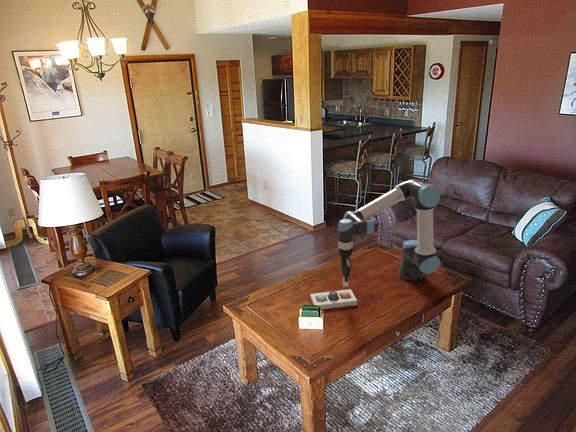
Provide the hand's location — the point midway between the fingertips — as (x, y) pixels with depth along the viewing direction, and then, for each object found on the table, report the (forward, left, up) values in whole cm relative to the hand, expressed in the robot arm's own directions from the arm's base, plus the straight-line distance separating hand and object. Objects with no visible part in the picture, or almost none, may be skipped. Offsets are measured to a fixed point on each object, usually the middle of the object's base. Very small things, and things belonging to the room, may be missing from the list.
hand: (345, 285), depth 225 cm
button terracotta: (0, -1, -9) cm, 9 cm away
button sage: (+14, -1, -9) cm, 17 cm away
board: (+7, -1, -10) cm, 12 cm away
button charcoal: (+7, -1, -8) cm, 10 cm away
